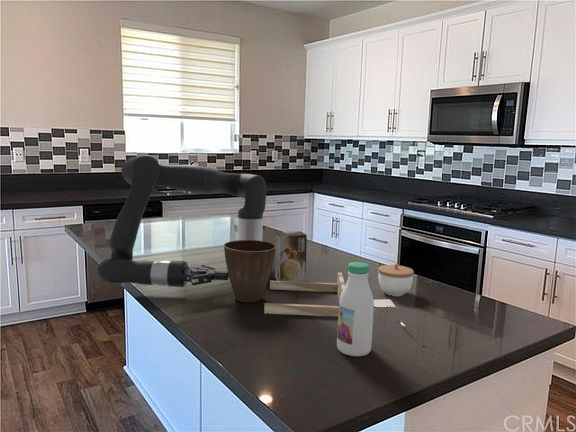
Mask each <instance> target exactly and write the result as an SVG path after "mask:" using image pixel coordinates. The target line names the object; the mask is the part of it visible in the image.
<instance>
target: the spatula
mask: <svg viewBox="0 0 576 432" xmlns="http://www.w3.org/2000/svg"><path fill="white" fill-rule="evenodd" d="M373 300H374V308H375V307H387V306H388V307H390V306H391V307H396V306H395V303H394V302H393V301H392V300H391V299H389V298H387V299H373ZM399 324H400V325H401V326H402V328H403V329H404V330H405V331H406V333H407V334H408V333H409V334H410V335H411V336H413V338H415V339H416V340H418V341H419V342H420V340H421V339H420V338H419V337H418V335H416V333H415V332H414V331H413V330H412V329H411V327H409V326H408V325H406V324H404V323H403V322H402V321H401V323H399ZM409 334H408V335H409ZM410 335H409V336H410ZM411 336H410V337H411ZM413 338H412V339H413Z"/></svg>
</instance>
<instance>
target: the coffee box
mask: <svg viewBox="0 0 576 432" xmlns="http://www.w3.org/2000/svg"><path fill="white" fill-rule="evenodd" d="M307 239H308V237H307V234H306V233H304V232H302V231H275V245H276V250H275V266H274V267H275V272H274V273H275V274H274V275H275V277H274V278H275V279H276V281H295V282H307V281H306V280H307V249H308V247H307V245H308V244H307V243H308V242H307Z"/></svg>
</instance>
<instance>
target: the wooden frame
mask: <svg viewBox="0 0 576 432" xmlns="http://www.w3.org/2000/svg"><path fill="white" fill-rule="evenodd" d="M336 280H337V281H336V282H316V281H315V282H314V281H313V282H312V281H306V282H295V281H277V280H271V279H270V280H269V290H278V291H281V290H282V291H301V292H302V291H303V292H305V291H306V292H321V293H323V292H325V293H337V298H339V299H338V303H339V302H340V296H341V293H342V291H343V289H344V287H345V285H346V283H345V280H344V276H343V273H342V272H337V279H336ZM263 307H264V308H263V309H264V311H263V312H264V313H263V314H267V313H268V314H269V315H270V314H272V315H293V316H294V315H295V316H311V317H313V316H317V317H338V315H339V305H319V304H317V305H316V304H297V303H277V302H276V303H274V302H273V303H272V302H271V303H270V302H264V306H263Z"/></svg>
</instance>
